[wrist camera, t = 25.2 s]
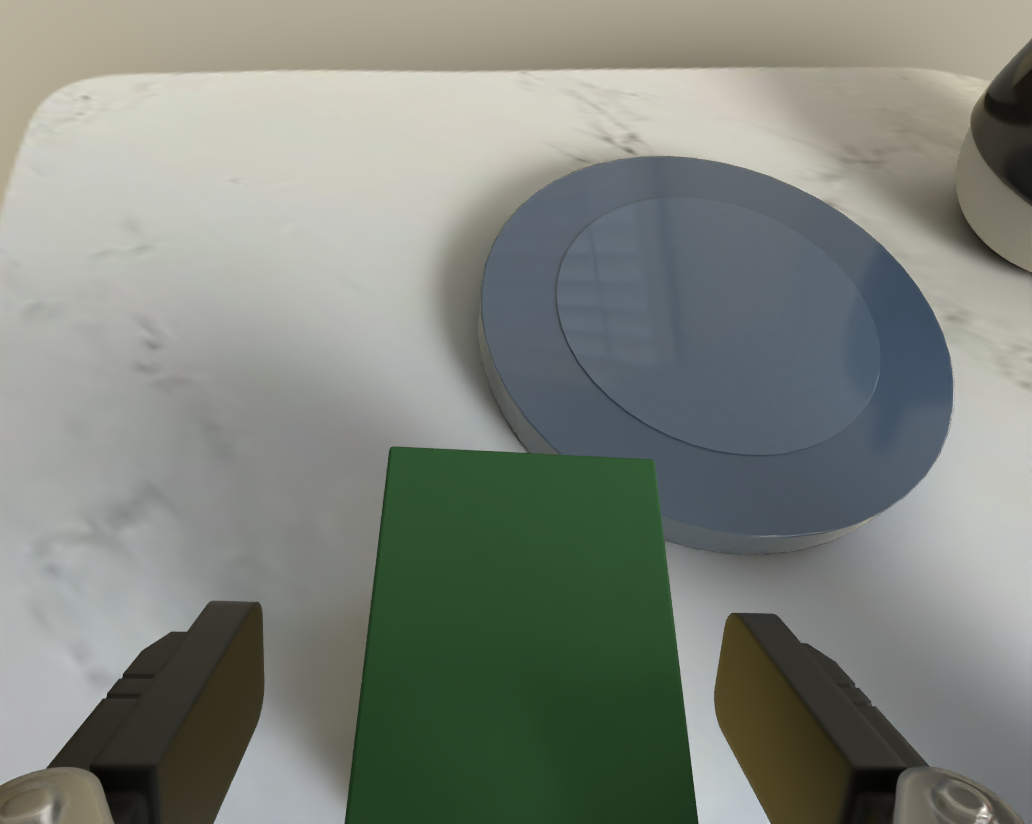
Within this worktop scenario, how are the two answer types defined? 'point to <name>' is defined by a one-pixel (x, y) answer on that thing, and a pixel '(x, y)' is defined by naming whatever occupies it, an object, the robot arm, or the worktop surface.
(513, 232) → the plate
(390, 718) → the sponge
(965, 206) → the pump dispenser
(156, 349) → the worktop surface
